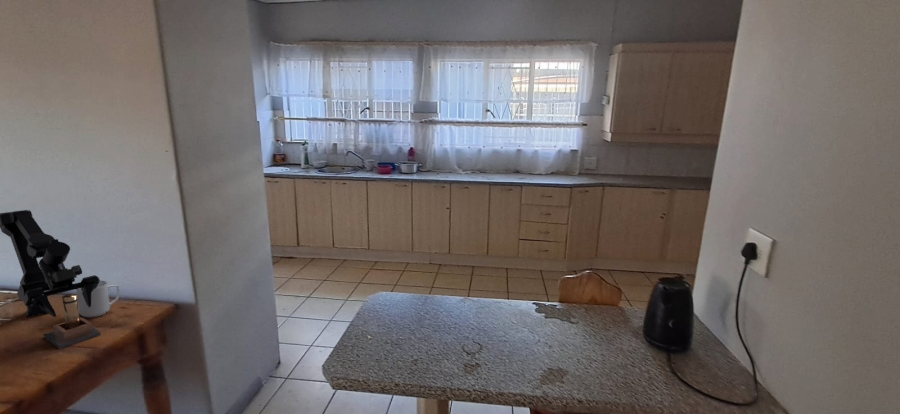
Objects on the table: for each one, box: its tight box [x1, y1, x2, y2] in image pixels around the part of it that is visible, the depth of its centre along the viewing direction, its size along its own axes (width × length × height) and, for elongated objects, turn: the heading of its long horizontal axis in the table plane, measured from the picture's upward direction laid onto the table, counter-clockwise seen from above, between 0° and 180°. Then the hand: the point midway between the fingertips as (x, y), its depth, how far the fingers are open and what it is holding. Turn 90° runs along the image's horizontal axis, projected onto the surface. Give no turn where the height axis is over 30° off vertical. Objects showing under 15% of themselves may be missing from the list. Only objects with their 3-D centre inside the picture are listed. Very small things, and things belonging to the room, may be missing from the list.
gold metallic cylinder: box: [61, 293, 80, 330], centre depth 143 cm, size 4×4×13 cm
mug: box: [75, 279, 120, 318], centre depth 160 cm, size 12×9×11 cm
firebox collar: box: [42, 316, 101, 349], centre depth 143 cm, size 12×11×4 cm
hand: (73, 311), depth 142 cm, fingers open, 9 cm apart
